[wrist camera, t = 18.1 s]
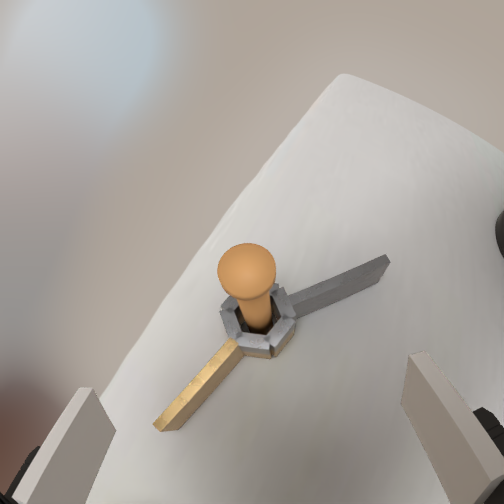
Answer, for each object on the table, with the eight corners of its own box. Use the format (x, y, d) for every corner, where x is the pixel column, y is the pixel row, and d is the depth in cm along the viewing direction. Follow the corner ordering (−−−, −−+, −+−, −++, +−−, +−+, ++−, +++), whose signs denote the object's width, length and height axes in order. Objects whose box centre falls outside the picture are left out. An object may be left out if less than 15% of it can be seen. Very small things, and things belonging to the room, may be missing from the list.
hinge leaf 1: (305, 320, 38) (308, 304, 33) (197, 446, 31) (181, 452, 26) (258, 287, 41) (254, 267, 36) (153, 406, 34) (132, 403, 29)
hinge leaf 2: (244, 369, 36) (237, 361, 31) (222, 310, 40) (212, 292, 35) (390, 304, 38) (405, 287, 33) (361, 254, 42) (370, 231, 37)
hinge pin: (285, 324, 38) (287, 263, 23) (263, 352, 37) (250, 307, 22) (258, 305, 40) (242, 233, 25) (236, 331, 38) (205, 273, 24)
